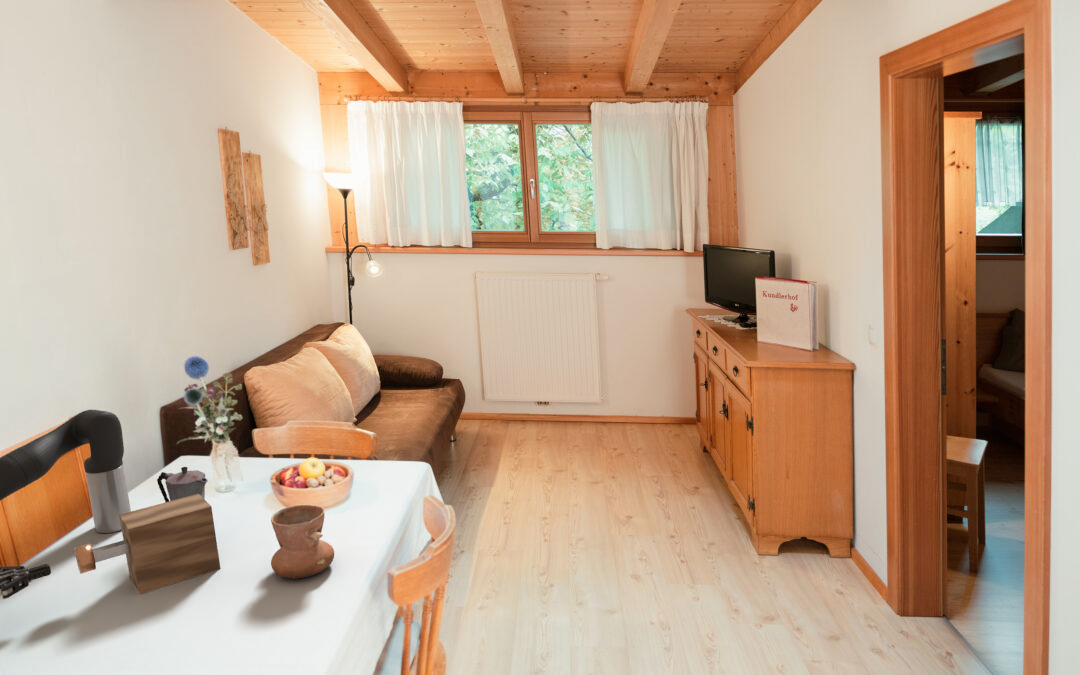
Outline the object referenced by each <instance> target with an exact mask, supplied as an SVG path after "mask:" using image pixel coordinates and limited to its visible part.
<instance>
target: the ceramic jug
mask: <svg viewBox="0 0 1080 675" xmlns="http://www.w3.org/2000/svg"><path fill="white" fill-rule="evenodd" d="M270 522H271V525H272V529H273V531H274V533H275V538H276V541H277V542H278V545H279V547H280V548H279V549H278V550H277V551H276V552H275V553H274V554H273V555H272V557H271V560H270V566H271V569H272V570H273V572H274V573H275V574H276V575H278V576H280V577H283V578H287V579H304V578H307V577H312V576H315V575H317V574H320V573H321V572H323V571H324V570H326V569H327V568H329V567H330V565H331V564H332V562H333V561H334V558H335V550H334V548H333V546H332V545H331V544H330V543H328V542H326V541H324V540H322V539H321V538H322V537H323V536H324V535H323V533H322V531H323V527H324V522H325V509H324V508H323V507H322V506H319V505H312V504H300V505H292V506H289V507H288V506H287V507H284V508H282V509H279V510H278V511H276V512H274V513H273V514H272V516H271V517H270Z"/></svg>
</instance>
